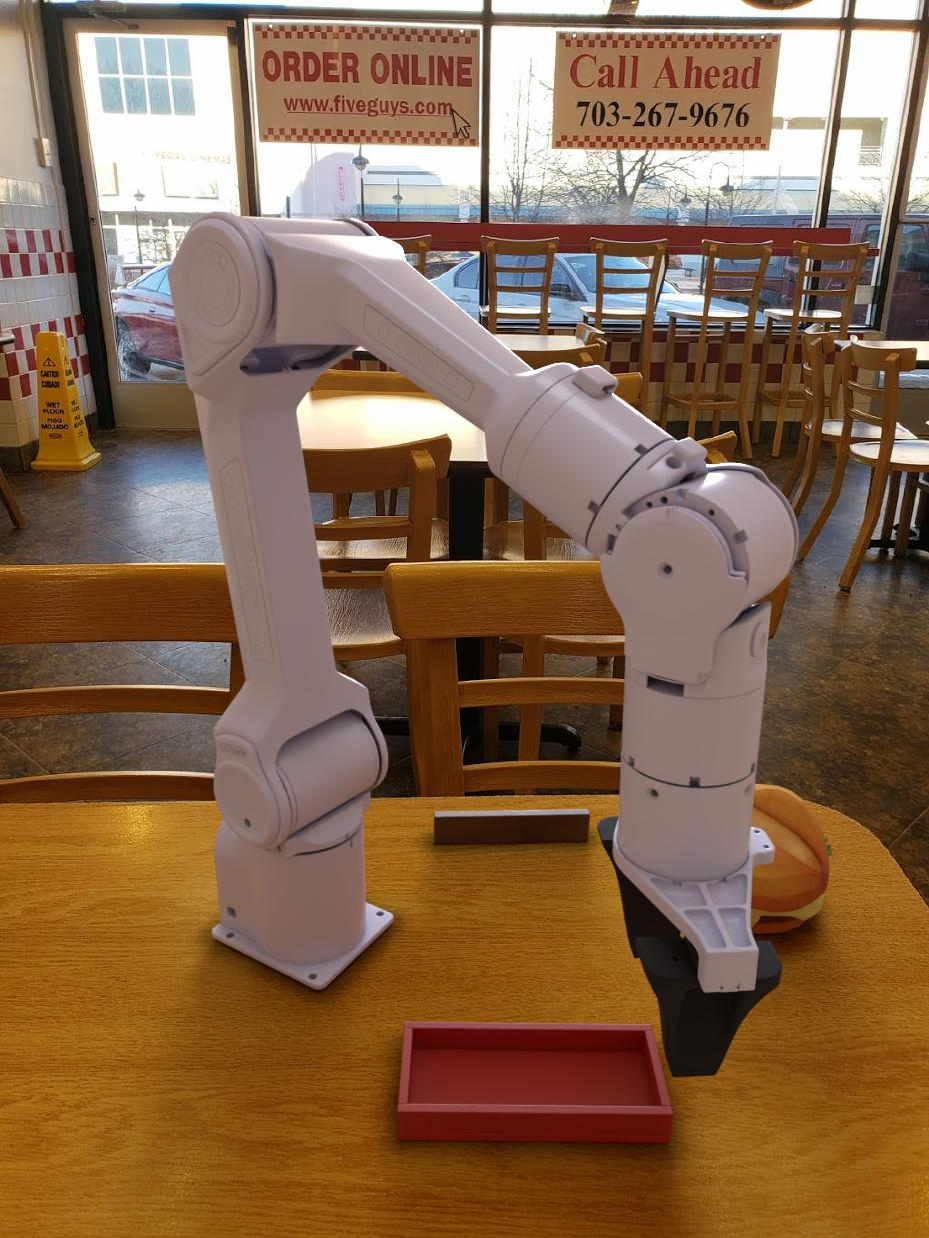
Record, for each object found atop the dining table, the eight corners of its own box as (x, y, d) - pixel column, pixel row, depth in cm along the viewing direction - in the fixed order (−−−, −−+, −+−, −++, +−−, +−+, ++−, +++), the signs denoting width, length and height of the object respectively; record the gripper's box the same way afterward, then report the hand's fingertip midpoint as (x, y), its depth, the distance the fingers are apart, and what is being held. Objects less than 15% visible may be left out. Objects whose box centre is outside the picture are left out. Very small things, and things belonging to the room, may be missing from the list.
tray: (670, 1143, 48) (673, 1114, 48) (397, 1140, 48) (397, 1111, 47) (648, 1050, 54) (651, 1024, 53) (404, 1048, 54) (404, 1021, 53)
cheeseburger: (801, 853, 72) (832, 758, 66) (832, 977, 63) (870, 880, 57) (667, 843, 72) (685, 747, 67) (679, 964, 64) (701, 866, 58)
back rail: (588, 841, 73) (590, 814, 72) (434, 844, 72) (434, 816, 71) (586, 835, 74) (588, 808, 73) (433, 838, 73) (433, 811, 72)
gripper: (852, 845, 34) (812, 1130, 38) (727, 683, 47) (708, 908, 52) (658, 854, 34) (641, 1140, 38) (588, 688, 47) (582, 914, 52)
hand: (670, 1007), depth 45 cm, fingers open, 7 cm apart
